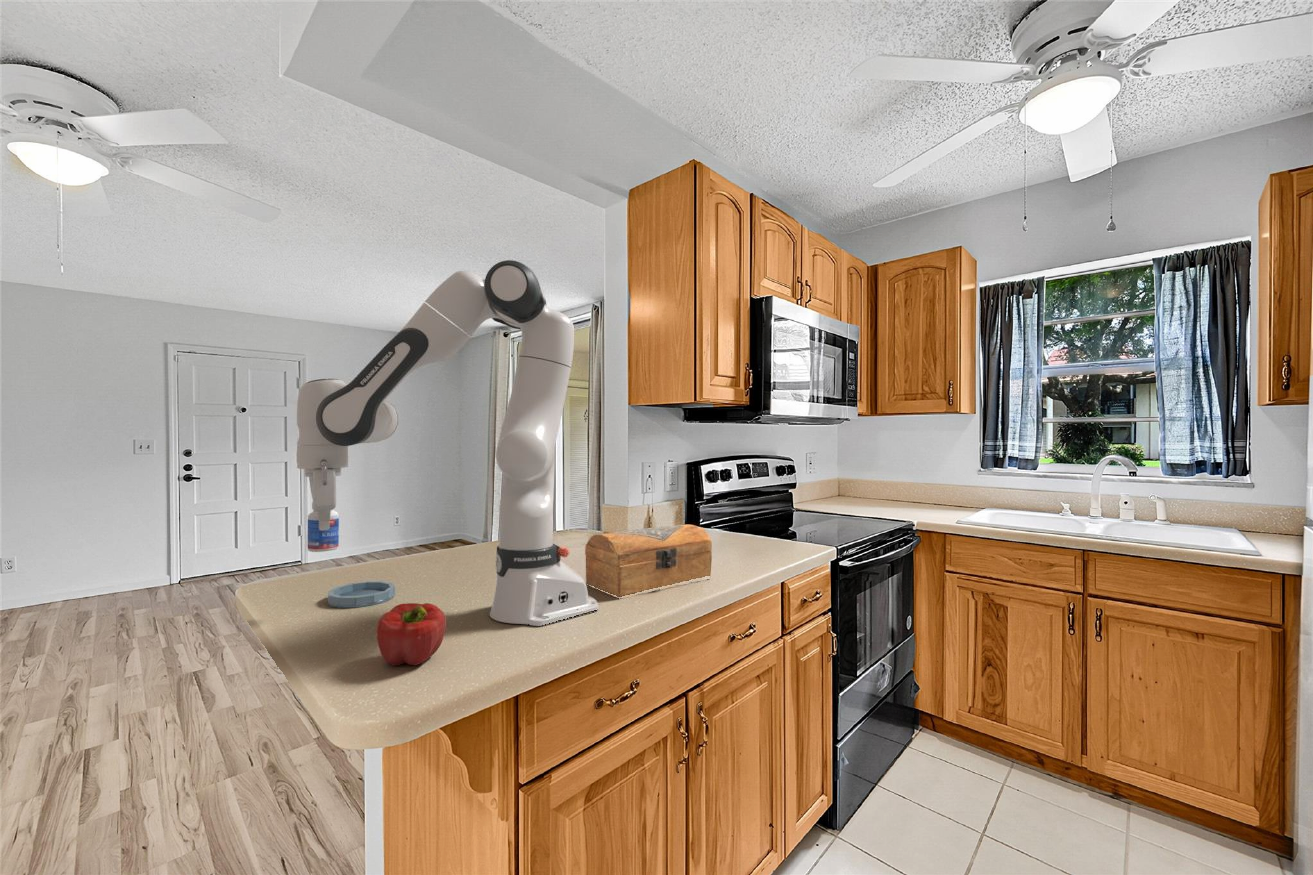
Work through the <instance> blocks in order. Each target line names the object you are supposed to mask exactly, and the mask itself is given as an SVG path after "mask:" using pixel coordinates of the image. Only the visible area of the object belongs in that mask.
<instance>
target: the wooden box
mask: <svg viewBox="0 0 1313 875" xmlns="http://www.w3.org/2000/svg"><path fill="white" fill-rule="evenodd" d="M712 543H713V542H712V540H711V538H710V536H709V534H708V533H707V531H706V530H705V529H704V528H702V527H701V526H697V525H694V524H677V525H668V526H666V525H665V526H654V527H648V528H647V527H646V528H638V529H629V530H628V529H627V530H622V531H621V530H620V531H616V532H609V533H602V534H595V535H592V536H591V537H590V538H588V540H587V543H586V544H585V547H584V548H585V550H584V554H585V583H586V584H588V585H591V586H594V587H595V588H598V589H600V590H603V591H605V592H608V593H610V594H613V595H616V596H617V597H622V596H625V595H630V594H635V593H637V592H642V591H644V590H649V589H653V588H658V587H662V586H667V585H672V584H675V583H680V582H683V581H689V580H691V579H696V578H702V577H705V576H710V577H711V572H712V562H713V561H712V558H713V557H712V552H713V550H712Z"/></svg>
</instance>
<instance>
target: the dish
mask: <svg viewBox="0 0 1313 875" xmlns="http://www.w3.org/2000/svg"><path fill="white" fill-rule="evenodd" d="M327 594H328V595H327V601H328V602H327V603H328V606H331V607H333V608H339V609H355V608H364V607H371V606H375V605H379V604H382V603H386V602H388V601H391V600H392V599H393V598H394V597H395V594H396V585H395V584H394V583H393V582H389V581H384V580H379V581H378V580H366V581H359V582H358V581H357V582H350V583H346V584H343V585H338V586H336V587H334V588H332V589H330V590H328V591H327Z"/></svg>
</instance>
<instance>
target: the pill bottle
mask: <svg viewBox="0 0 1313 875" xmlns="http://www.w3.org/2000/svg"><path fill="white" fill-rule="evenodd" d="M311 508H312V509H311V510H312V512H310V513H308V515H307V551H308V552H311V553H322V552H330V551H335V550H337V549H338V548H339V542H340V541H339V540H340V539H339V538H340V534H339V533H340V529H339V528H340V527H339V526H340V523H339V522H340V518H339V517H340V515H339V512H338V511H336V510H335V509H331V514H330V528H329V529H328V530H322V531H321V530H319V518H318V510H315V509H314V506H313V501H312V502H311Z"/></svg>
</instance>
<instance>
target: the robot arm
mask: <svg viewBox="0 0 1313 875" xmlns="http://www.w3.org/2000/svg"><path fill="white" fill-rule="evenodd" d="M489 319H492V320H493V321H494V322H497V323H500V324H502V325H503V326H506V327H507V326H508V327H509V328H512V329H515V330H520V331H521V332H520V333H521V344H520V349H519V353H518V359H517V363H516V369H515V374H514V378H513V383H512V384H513V385H512V389H511V392H510V398H509V401H508V404H507V408H506V411H505V414H504V418H503V422H502V426H501V429H500V433H499V437H498V442H497V446H496V451H495V459H496V463H497V466H498V468H499V469H500V470H501V472H502V481H501V489H500V490H501V491H500V492H501V493H500V500H499V501H500V502H499V508H498V512H499V514H498V517H499V518H498V545H497V546H496V554H495V572H496V574H497V576H496V583H495V584H496V585H495V592H494V596H493V597H494V598H493V601H492V606H491V609H490V612H489V616H490V618H491V619H492V620H495V621H496V622H501V623H505V624H515V625H516V624H519V625H520V624H521V625H528V624H529V625H530V626H533V627H534V626H535V627H543V626H545V624H546V625H549V623H550V624H552V622H554V623H556V621H557V622H559V621H558V620H561V621H564V620H563V619H565V620H568V619H570V618H569V617H572V618H575V617H574V616H576V615H579V614H582V613H586V612H588V611H594V610H597V609H598V610H599V603H598V601H597V600H596V599H595V598H594V597H592V596H591V595H589V594H588V593H589V592H588V586H587V585H586V579H585V578H583V576H582V575H580V574H579V573H578V572H576V571H575V570H574V569H573V568H571V567H570V566H569V565H568V564H566V563H564V562H563V561H562V560H561V558H568V557H569V555H570V549H569V548H567V547H566V546H559V545H557V544H555V543H554V499H555V492H554V491H555V469H556V465H555V463H556V462H555V461H556V449H555V448H556V442H557V438H558V434H559V429H560V425H561V420H562V414H563V411H564V407H565V406H564V405H565V401H566V396H567V391H568V385H569V381H570V376H571V370H572V366H573V357H574V351H575V350H574V349H575V326H574V323H573V321H572V320H571V318H570V317H568V316H567V315H566V314H565V313H562V312H560V311H558V310H554V309H551V308H549V307H548V306H547V301H546V298H545V294H544V288H543V287H542V284H541V283H540V281H539V279H538V277H537V275H536V274H535V272H534V271H533V270H532V269H531V268H530V267H528V266H527V265H526V264H524V263H522V262H520V261H517V260H513V259H512V260H511V259H509V260H508V259H507V260H502V261H499V262H497V263H495V264H494V265H493V266H491V267H490V269H489V270H487V272H486V275H485V277H484V279H483V278H482V277H481V276H480V275H478V274H476V273H474V272H472V271H469V270H458V271H456V272H454V273H452V274H451V275H450V276H448V277H447V278H446V279H445V280H444V281H443V282H442V283H441V284H439V286H437V287H436V288H435V290H434V291H433V292H431V293H430V295H429V296H428V297H427V299H425V300H424V302H423V303H422V304H421V305H420V307H419V308H418V309H417V311H415V313H414V314H413V315H412V316H411V318H410V319H409V320H408V322H407V323H406V324H405V325H404V326H403V328H401V329H400V330H399V331H398V333H397V334H396V335H395V336H394V337H393V338H392V339H390V340H389V342H388V343H386V344H385V345H384V347H382V349H381V350H380V351H379V352H378V353H377V354H376V355H375V356H374V357H373V358H372V359H371V360H370V361H369V362H368V364H366V366H365V367H364V368H363V369H362V370H361V371H360V372H359V373H358V374H357V376H356V377H354V378H353V379H352V380H351V381H350V382H349V383H348V384H347V383H346V382H345V381H343V380H342V379H338V378H321V379H314V380H310V381H307V382H305V383H303V385H302V386H301V387H300V389H299V393H298V397H297V405H296V425H297V428H298V432H299V434H298V438H297V443H296V462H297V463H296V464H297V466H296V469H299V470H301V469H302V470H304V477H305V478H308V479H309V486H310V487H309V489H310V492H311V497H312V502H313V506H314V509H315V510H318V518H319V530H321V531H322V530H328V529H329V528H330V514H331V509H334V510H335V509H336V506H337V479H336V478H337V477H338V476H342V469H344V468H347V467H349V447H350V446H355V445H360V444H370V443H379V442H381V441H385V440H387V439H389V437H392V435H393V434H394V433H395V432H396V430H397V428H398V423H399V418H398V416H399V415H398V412H397V409H396V408H395V406H394V405H392V404H391V403H390V402H389V401H387V398H388V397H389V396H390V395H391V394H392V393H393V392H394V391H395V389H397V387H398V386H399V385H400V384H401V383H402V382H403V380H405V378H406V377H407V376H408V375H410V374H411V373H412V372H414V371H415V370H417V369H418V368H419V369H420V368H421V367H423V366H425V365H426V366H427V365H429V364H434V363H438V362H444V361H446V360H449V359H451V357H453V356H454V355H455V354H457V352H459V351H460V350H461V349H462V348H463V347H464V346H465V345H466V343H468V341H469V340H470V338H471V337H472V336H473V335H474V334H475V332H476V330H477V329H478V328H479V327H480V326H481V325H482V324H483V323H484V322H485V321H487V320H489ZM598 610H597V611H598ZM594 612H595V611H594ZM579 616H580V615H579ZM576 617H577V616H576ZM567 618H568V619H567ZM529 625H528V626H529ZM542 625H543V626H542Z"/></svg>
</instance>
